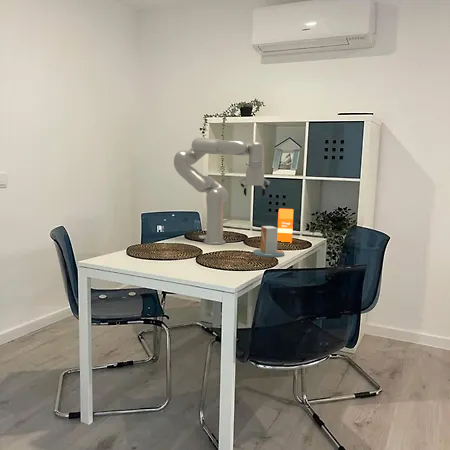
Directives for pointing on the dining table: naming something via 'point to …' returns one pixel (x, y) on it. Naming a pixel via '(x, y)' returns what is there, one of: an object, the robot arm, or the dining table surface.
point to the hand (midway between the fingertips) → (254, 196)
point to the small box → (269, 239)
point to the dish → (261, 253)
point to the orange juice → (285, 225)
